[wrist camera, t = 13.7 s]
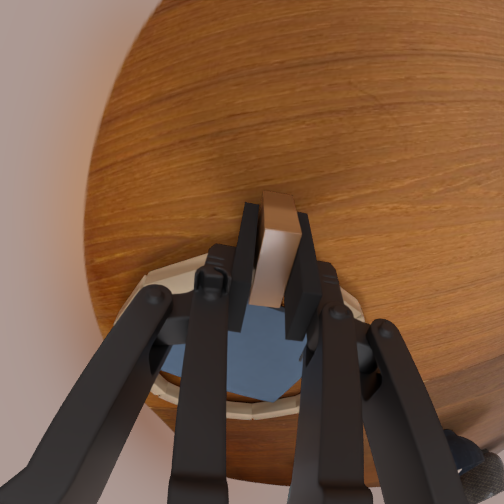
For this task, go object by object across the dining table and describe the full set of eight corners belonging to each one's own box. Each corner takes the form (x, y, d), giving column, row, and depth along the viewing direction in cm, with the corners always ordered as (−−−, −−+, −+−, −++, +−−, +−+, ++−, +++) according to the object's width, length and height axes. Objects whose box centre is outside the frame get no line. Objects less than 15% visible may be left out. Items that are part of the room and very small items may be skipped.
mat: (156, 363, 26) (155, 368, 26) (190, 272, 20) (188, 277, 19) (273, 398, 28) (273, 403, 28) (344, 327, 22) (345, 333, 21)
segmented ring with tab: (101, 170, 15) (65, 201, 12) (430, 224, 17) (461, 262, 13) (136, 391, 29) (128, 423, 25) (317, 411, 30) (321, 443, 27)
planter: (468, 463, 58) (476, 503, 45) (435, 471, 56) (442, 517, 43) (508, 438, 49) (519, 481, 36) (479, 446, 47) (490, 497, 34)
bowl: (375, 463, 44) (379, 508, 36) (397, 432, 34) (406, 492, 26) (451, 444, 42) (460, 484, 33) (489, 405, 32) (504, 456, 24)
